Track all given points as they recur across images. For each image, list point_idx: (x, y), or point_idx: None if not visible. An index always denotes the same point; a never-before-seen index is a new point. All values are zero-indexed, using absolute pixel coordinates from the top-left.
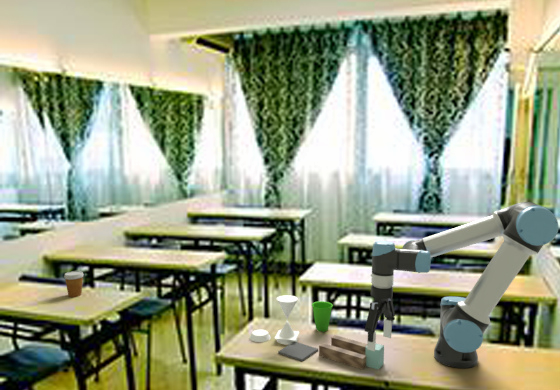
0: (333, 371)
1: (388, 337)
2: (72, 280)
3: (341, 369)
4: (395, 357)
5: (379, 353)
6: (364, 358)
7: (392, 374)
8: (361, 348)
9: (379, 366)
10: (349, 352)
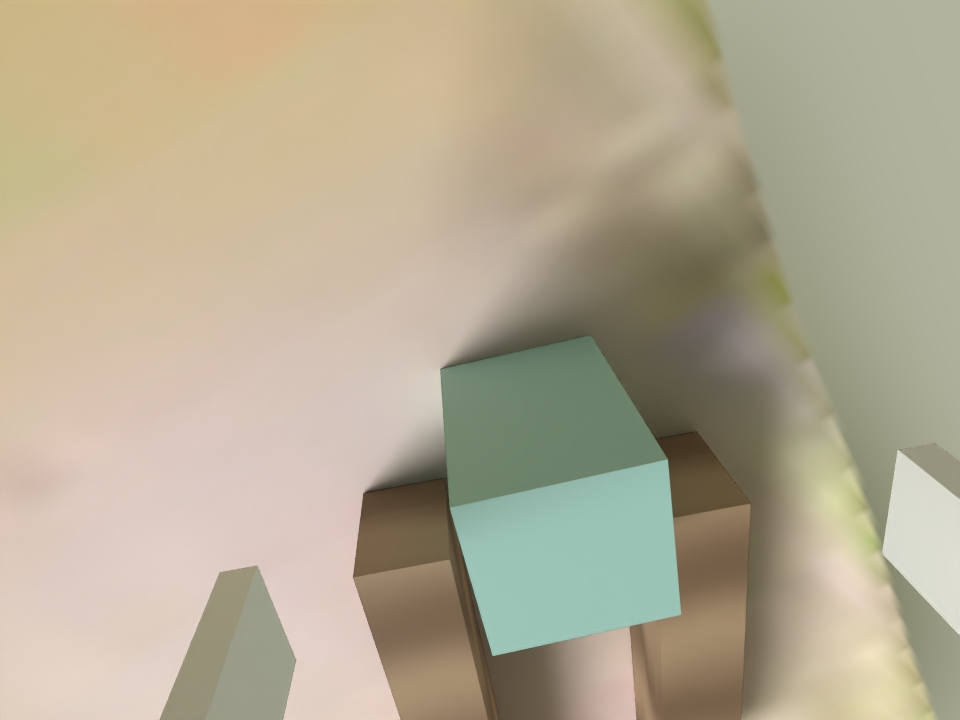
0: (869, 552)
1: (267, 596)
2: None
3: (802, 537)
4: (197, 371)
5: (622, 433)
6: (697, 502)
7: (589, 162)
8: (474, 646)
9: (565, 351)
10: (697, 651)
